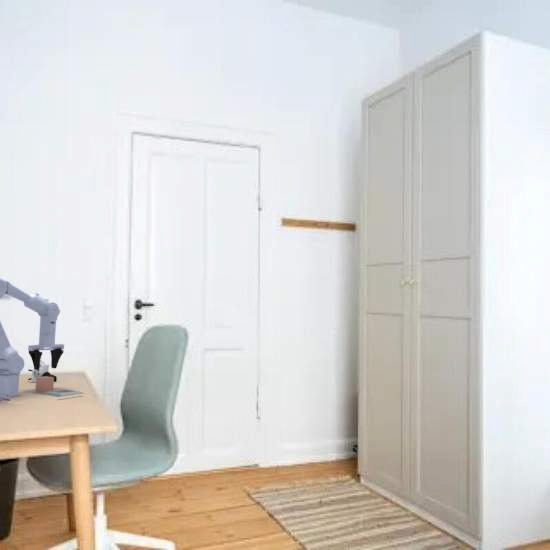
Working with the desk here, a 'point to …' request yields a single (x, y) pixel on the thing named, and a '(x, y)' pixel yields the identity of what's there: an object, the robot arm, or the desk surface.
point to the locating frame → (55, 392)
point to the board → (50, 394)
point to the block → (44, 383)
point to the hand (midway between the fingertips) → (45, 368)
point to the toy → (41, 372)
